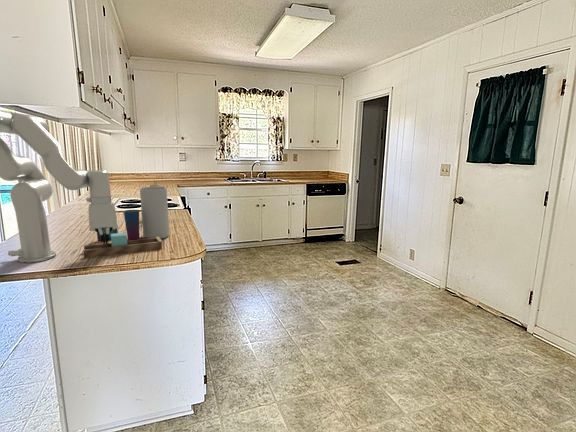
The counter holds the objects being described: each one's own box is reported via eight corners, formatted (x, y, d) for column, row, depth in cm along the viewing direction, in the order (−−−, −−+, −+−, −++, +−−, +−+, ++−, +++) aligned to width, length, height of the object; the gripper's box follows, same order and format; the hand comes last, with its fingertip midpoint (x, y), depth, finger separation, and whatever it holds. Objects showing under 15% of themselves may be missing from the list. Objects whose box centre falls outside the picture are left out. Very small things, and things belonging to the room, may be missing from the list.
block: (112, 252, 143) (110, 236, 141) (112, 249, 147) (110, 233, 146) (128, 250, 145) (126, 235, 144) (127, 247, 150) (126, 232, 148)
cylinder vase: (167, 239, 169) (164, 189, 164) (141, 240, 166) (137, 190, 161) (170, 233, 181) (168, 186, 176) (145, 233, 178) (142, 186, 173)
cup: (125, 243, 161) (122, 212, 158) (127, 239, 167) (124, 209, 164) (140, 242, 163) (138, 211, 160) (142, 238, 169) (140, 209, 166)
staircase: (160, 216, 223) (157, 178, 218) (166, 220, 214) (164, 180, 209) (147, 218, 218) (145, 179, 213) (153, 221, 209) (151, 180, 204)
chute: (84, 260, 136) (82, 250, 135) (85, 253, 145) (84, 243, 144) (162, 251, 150) (161, 241, 149) (159, 245, 159) (158, 236, 158)
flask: (117, 238, 168) (115, 217, 166) (119, 239, 166) (117, 218, 164) (97, 242, 162) (94, 220, 160) (99, 243, 160) (96, 221, 158)
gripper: (79, 202, 132) (84, 247, 136) (121, 200, 139) (125, 243, 143) (80, 200, 139) (85, 242, 143) (120, 198, 146) (124, 238, 150)
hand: (105, 242), depth 143 cm, fingers closed
